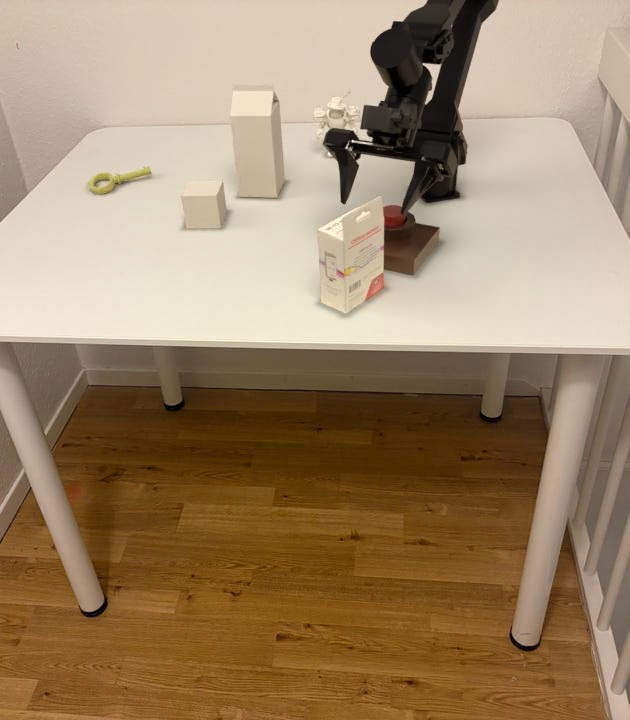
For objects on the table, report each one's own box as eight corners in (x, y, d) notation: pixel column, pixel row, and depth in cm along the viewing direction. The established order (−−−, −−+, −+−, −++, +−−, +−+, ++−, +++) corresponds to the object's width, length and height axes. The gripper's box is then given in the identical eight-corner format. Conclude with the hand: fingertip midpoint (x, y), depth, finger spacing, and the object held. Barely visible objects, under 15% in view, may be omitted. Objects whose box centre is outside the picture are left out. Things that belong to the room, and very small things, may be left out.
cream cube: (227, 212, 127) (223, 180, 123) (220, 228, 122) (216, 195, 119) (193, 212, 128) (188, 180, 124) (186, 228, 123) (180, 195, 119)
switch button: (385, 213, 114) (385, 203, 113) (409, 217, 112) (409, 207, 111) (375, 224, 111) (375, 214, 110) (399, 229, 110) (400, 218, 108)
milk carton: (277, 198, 130) (268, 91, 118) (239, 197, 131) (226, 91, 120) (285, 182, 135) (277, 77, 124) (248, 181, 137) (237, 77, 125)
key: (156, 178, 140) (154, 167, 139) (96, 196, 136) (93, 186, 134) (141, 167, 145) (139, 156, 144) (83, 184, 140) (80, 174, 139)
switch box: (363, 227, 119) (363, 202, 117) (438, 242, 114) (440, 216, 111) (333, 259, 112) (333, 233, 109) (413, 276, 106) (414, 249, 104)
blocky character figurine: (359, 148, 146) (359, 88, 138) (360, 156, 142) (360, 94, 135) (314, 151, 146) (311, 91, 139) (314, 159, 143) (312, 97, 136)
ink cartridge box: (357, 277, 107) (357, 184, 98) (384, 289, 104) (386, 194, 95) (318, 302, 103) (314, 207, 93) (345, 315, 100) (343, 218, 91)
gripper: (326, 70, 100) (292, 177, 99) (457, 83, 92) (422, 199, 92) (350, 108, 110) (320, 205, 110) (471, 122, 102) (439, 227, 102)
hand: (372, 208), depth 103 cm, fingers open, 9 cm apart
